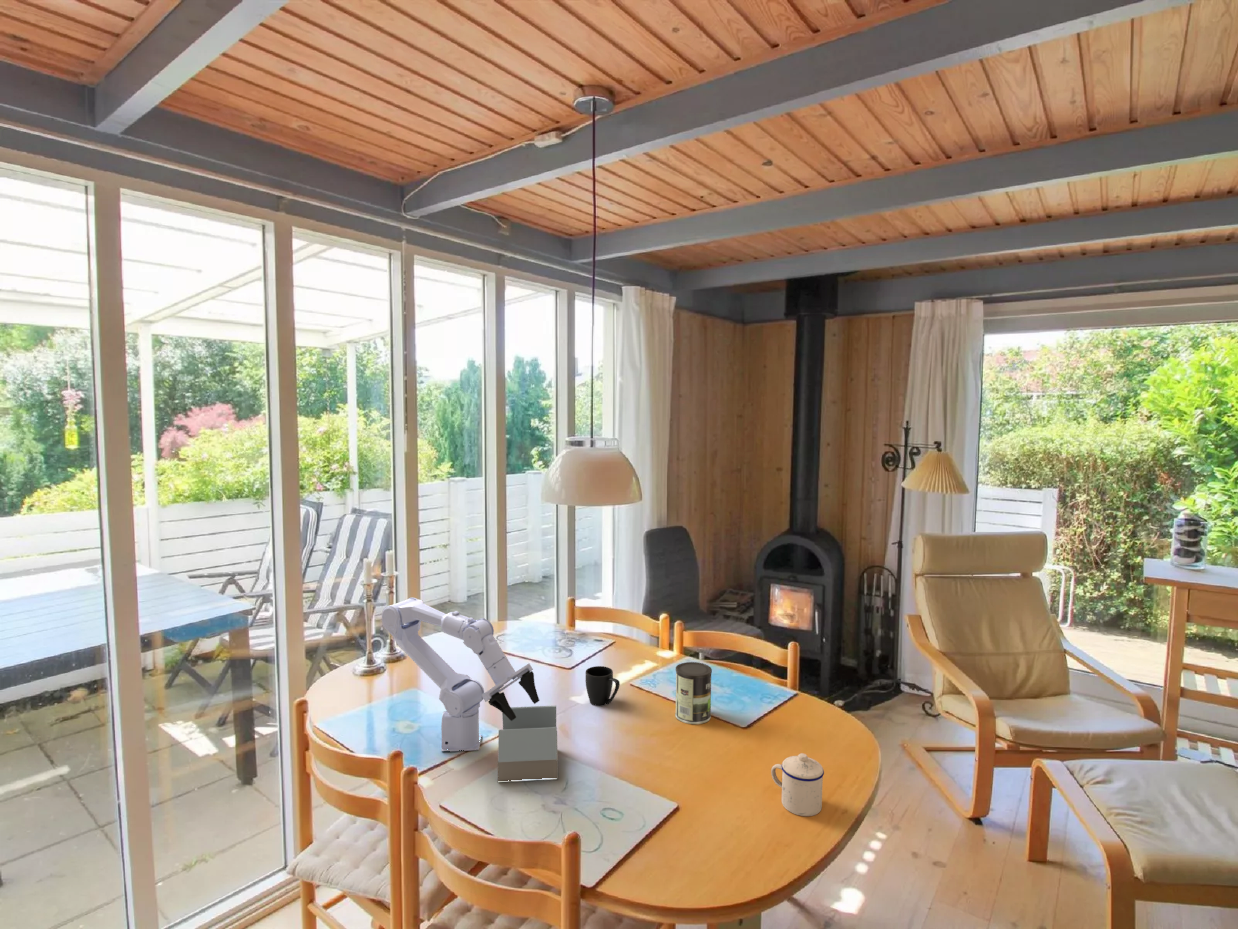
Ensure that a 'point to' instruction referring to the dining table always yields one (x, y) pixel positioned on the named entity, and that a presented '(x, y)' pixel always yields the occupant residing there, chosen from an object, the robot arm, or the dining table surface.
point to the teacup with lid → (800, 784)
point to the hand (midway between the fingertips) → (525, 710)
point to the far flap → (531, 717)
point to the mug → (600, 685)
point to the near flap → (527, 744)
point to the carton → (527, 769)
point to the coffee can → (693, 692)
